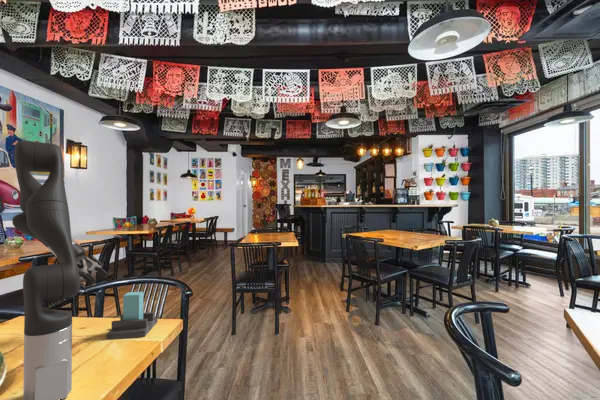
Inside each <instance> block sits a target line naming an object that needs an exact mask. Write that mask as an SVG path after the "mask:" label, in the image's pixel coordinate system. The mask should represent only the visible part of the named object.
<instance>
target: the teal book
mask: <svg viewBox="0 0 600 400" xmlns="http://www.w3.org/2000/svg"><path fill="white" fill-rule="evenodd" d="M122 298H123V300H122V314H123V320H135V319H143V313H144V291H130V292H129V291H128V292H126V293H125V294H124V295H122Z"/></svg>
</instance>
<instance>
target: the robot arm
mask: <svg viewBox="0 0 600 400" xmlns="http://www.w3.org/2000/svg"><path fill="white" fill-rule="evenodd" d="M13 156H14V165H15V166H14V167H15V171H16V172H15V173H16V178H17V182H18V187H19V209H20V210H21V213H18V214H16V215H14V216H13V218H12V220H11V221H12V226H14V228H15V229H16V230H17V231H19V232H21V233H23V234H25V235H26V236H27V235H28V236H29V237H31V238H34V239H35V240H37V241H39V242H40V243H41V244H42V245H44V246H45V247H46V248H47V249H48V250H49V251H50V252H51V253H52V255H54V256H55V257H56V258H57V260H58V262H59V263H52V264H45V265H37V266H31V267H28V268H27V269H26V270H25V272H24V274H23V278H22V293H23V306H24V317H23V318H24V325H23V383H22V384H23V387H22V388H23V393H22V394H23V399H22V400H59V399H62V400H64V399H67V398H68V397H69V396H68V395H69V394H70V393H71V391H72V389H73V388H72V385H73V384H72V382H73V381H72V380H73V379H72V377H73V376H72V375H73V370H72V369H73V367H72V366H73V365H72V364H73V363H72V362H73V359H72V358H73V356H72V355H73V315H72V313H71V312H70V311H67V310H62V309H51V308H47V307H44V306H42V305H43V304H44V303H49V302H53V301H54V302H55V301H59V300H65V299H69V298H72V297H75V296H77V294H79V291H80V288H81V279H83V280H84V281H86V282H87V283H88V284H89V285H93V284H94V283H95V282H96V281H97V279H96V278H95V276H93V275H92V274H90V272H88V271H93V272H95V273H96V274H97V275H99V276H100V277H101V278H102V279H106V278H107V276H108V275H109V273H108V272H107V271H106V270H105V269H103V268H102V267H103V266H104V264H103V263H102V262H101V261H100V260H98V259H97V258H96V256H94V255H92V254H91V255H90V256H89V257H88V256H87V255H85V254H86V253H87V251H86V250H85V249H84V247H82V246H81V245H80V244H79V243H78V242H77V241H75V240H74V239H73V238H72V231H71V218H70V217H71V216H70V210H69V204H68V198H67V193H66V192H67V191H66V189H65V188H66V186H65V175H64V173H65V171H64V156H63V151H62V149H61V147H60V146H59V145H58V144H56V143H49V142H38V141H30V140H29V141H27V140H23V141H22V140H21V141H17V143H16V144H15V148H14V155H13ZM31 172H32V173H33V172H36V173H49V175H48V177H47V178H46V180H45V181H44V183H43V184H42V183H41V182H40V181H39V180H38V179H36V178H35V177H34V175H32V173H31ZM66 397H67V398H66Z"/></svg>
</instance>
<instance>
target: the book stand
mask: <svg viewBox="0 0 600 400" xmlns="http://www.w3.org/2000/svg"><path fill="white" fill-rule="evenodd" d="M119 315H120V319H119V320H118V319H117V320H112V321H111V329H110V330H109V331H107V332H106V340H109V339H110V340H111V339H114V340H115V339H126V338H142V337H146V336H147V335H148V333H150V331H151V330H152V329H153V328H154V327H155V325H156V324H157V323H158V317H157V316H155V312H153V311H151V312H150V311H149V312H143V319H135V320H123V313H121V314H119Z"/></svg>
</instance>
